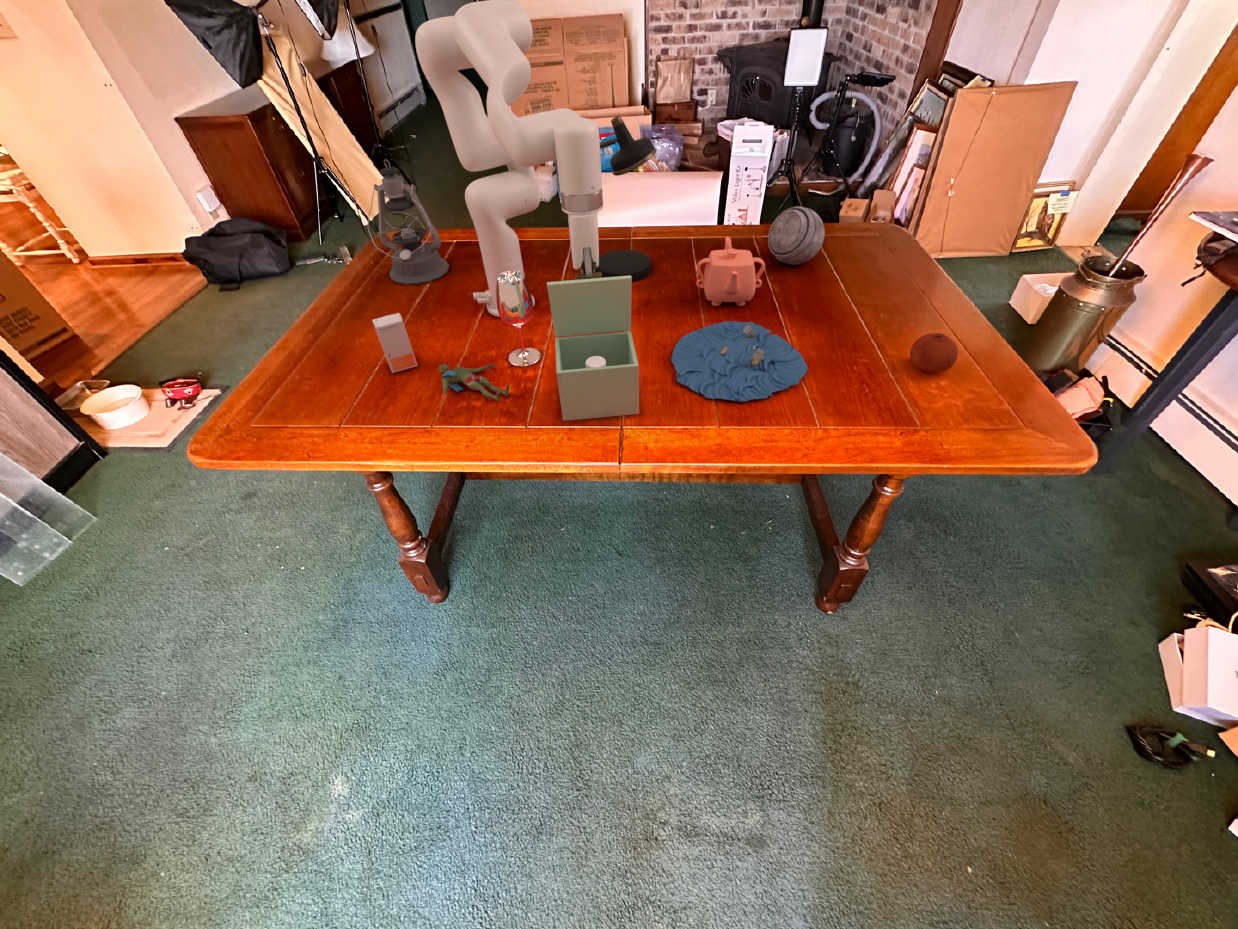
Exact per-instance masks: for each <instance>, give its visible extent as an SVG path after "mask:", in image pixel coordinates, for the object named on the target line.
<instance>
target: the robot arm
mask: <svg viewBox="0 0 1238 929" xmlns="http://www.w3.org/2000/svg"><path fill="white" fill-rule="evenodd" d="M414 37H415V38H414V39H415V40H414V41H415V42H414V43H415V49H416V55H417V59H418V62H419V64H420V67H421V70H422V72H423V74H424V76H425V78H426V80H427V81H428V84H429V85H430V88H431V89H432V90H433V92H434V94H435V96H436V97H437V100H438V101H439V104H440V106H441V109H442V112H443V115H444V119H445V122H446V125H447V128H448V131H449V134H450V137H451V140H452V144H453V147H454V149H455V152H456V155H457V157H458V160H459V162H460V164H461V166H462V167H463V168H464V170H466V171H468V172H471V173H472V172H473V173H475V172H482V171H486V170H490V169H495V168H498V167H502V166H506V167H507V169H508V170H507V171H503V172H500V173H495V174H491V175H488V176H484V177H481V178H478V179H476V180H473V181H472V182H471V183H469V184H468V185H467V187H466V189H465V191H464V200H465V204H466V207H467V210H468V213H469V216H470V218H471V220H472V223H473V227H474V229H475V233H476V236H477V241H478V245H479V249H480V254H481V259H482V263H483V264H482V265H483V268H484V272H485V276H486V282H487V286H488V290H485V291H483V292H480V291H477V292H473V293H472V297H473V300H474V301H477V304H486V310H487V312H488V313H489V314H491V315H493V316H494V317H498V318H501V317H500V316H499V313H498V310H497V300H496V286H497V276H498V275H499V274H500V273H502V272H505V271H519V272H521V273H522V274H523V276H524V278H525V279H526V277H525V271H524V265H523V259H522V253H521V252H522V251H521V247H520V240H519V237H518V235H517V233H516V232H515V230H514V229H513V228H512V227H510V226H509V225H508V224H507V220H510V219H512V218H515V217H518V216H522V215H525V214H528V213H531V212H534V211H535V210H536V209H537V208H538V207H539V205H540V203H541V191H540V187H539V182H538V178H537V174H536V170H535V167H536V166H539V165H542V164H547V163H550V162H554V161H556V167H557V177H558V185H559V193H560V204H561V211H562V212H563V213H564V214H567V220H568V232H569V242H570V252H571V261H572V268H573V269H574V270H578V269H580V274H583V273H586V277H592V273H595V266H596V268H597V267H598V266H599V256H600V243H599V241H600V240H599V220H598V213H599V212H600V211H602V210H603V209H604V196H603V195H604V194H603V179H602V161H601V148H600V143H601V141H600V130H599V126H598V124H597V123H596V121H594V120H593V119H591V118H589V117H581V115H580V114H578V113H577V112H576V111H575V110H573V109H570V108H566V107H562V108H561V107H560V108H556V109H551V110H546V111H545V110H544V111H541V112H536V113H531V114H528V115H527V114H526V115H523V116H519V117H518V116H517V115H516V114H515V113H514V112H513V111H512V110H511V108H510V107H511V106H512V105H513V104H514V103H515V102H516V101H517V100H519V99H520V97H522V96H523V94H524V93H525V92H526V90H527V88H528V87H529V85H530V82H531V77H532V68H531V64H530V62H529V59H528V58H527V56H526V55H525V54H526V53H527V52H528V51H529V50H530V48H531V47H532V44H533V40H534V38H533V37H534V32H533V26H532V21H531V19H530V16H529V14H528V12H527V10H526V8H525V7H524V6H523V5H522V4H521V3H520V2H519V1H517V0H481V1H480V0H479V1H473V2H468V3H466V4H463V5H461V7H460V8H458V9H457V11H456V12H455V14H454V15H449V16H442V17H436V18H433V19H430V20H427V21H424V22H423V23H421V25H419V26H418V28H417V30H416V32H415V36H414ZM467 69H474V70H475V71H476V73H477V74H478V75H479V77H480V78H481V79H482V81H483V82H484V84H485V86H487V88H488V89H487V94H486V95H487V96H486V112H485V108H484V105H483V101H482V98H481V96H480V93H479V90H477V88H476V87H475V86H474V84H473V83H472V82H471V81H470V80H469V79H468V78H467V77H466V76H465V75H463V74H462V73H461V72H460V70H467ZM486 113H487V114H486ZM531 297H532V300H533V306H534V307H535V305H536V304H535V303H536V301H535V298H534V296H533V295H532V294H531Z"/></svg>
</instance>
